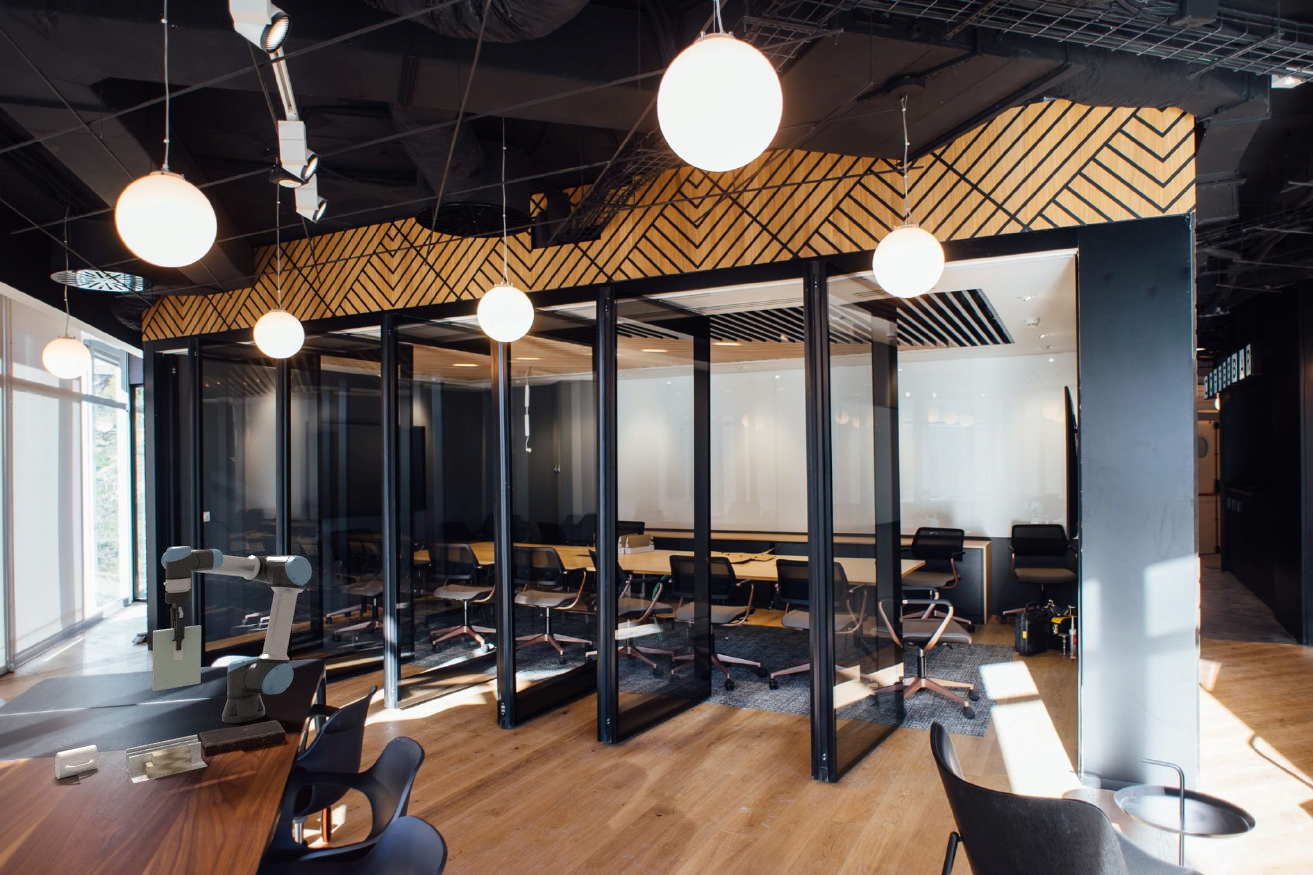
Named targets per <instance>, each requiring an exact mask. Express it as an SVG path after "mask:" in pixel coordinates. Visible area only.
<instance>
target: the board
mask: <svg viewBox="0 0 1313 875" xmlns="http://www.w3.org/2000/svg"><path fill="white" fill-rule="evenodd" d="M184 637H185V638H184V639H183V659H181V660H173V646H174V642H172V640H174V628H172V629H171V628H166V629H157V630H153V631H152V675H151V676H152V680H151V682H152V684H151V685H152V686H151V687H152V688H151V690H152V692H157V691H163V690H168V689H169V690H170V689H175V688H181V687H187V686H193V685H197V684H201V672H202V669H201V668H202V666H201V665H202V664H201V663H202V625H200V624H198V625H190V626H185V631H184Z"/></svg>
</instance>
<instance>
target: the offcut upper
mask: <svg viewBox="0 0 1313 875" xmlns="http://www.w3.org/2000/svg"><path fill="white" fill-rule="evenodd" d="M189 758H190V748H189V746H188V745H185V746H180V747H175V748H171V749H166V750H161V751H157V752H152V753H151V763H152V765H153V766H157V765H161V764H166V763H170V762H175V761H179V760H184V759H189Z"/></svg>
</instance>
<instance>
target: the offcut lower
mask: <svg viewBox="0 0 1313 875" xmlns="http://www.w3.org/2000/svg"><path fill="white" fill-rule="evenodd" d="M189 767H192V757H191V756H190V758H189V759H184V760H179V761H175V762H170V763H166V764H161V765H157V766H153V765H152V763H151V762H148V763H145V773H146V775H147V777H150V776H154V775H159V774H163V773H167V772H172V771H176V770H180V769H185V768H189Z"/></svg>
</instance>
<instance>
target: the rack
mask: <svg viewBox="0 0 1313 875" xmlns="http://www.w3.org/2000/svg"><path fill="white" fill-rule="evenodd" d="M185 745H188V746H189V748H190V756H191V757H192V767H189V768H185V769H180V770H176V771H172V772H167V773H163V774H159V775H154V776H150V777H147V775H146V773H145V763H148V762H151V753H152V752H157V751H161V750H166V749H171V748H175V747H180V746H185ZM206 767H208V765H207V763H206V762H205V761H204V760H203V759H202V742H201V741H199V739H198V734H194V735H188V736H183V737H178V738H173V739H168V740H164V741H159V742H155V743H150V744H144V745H140V746H135V747H130V748H126V749H125V769H126V771H127V773H128V775H129V777H130V779H131V781H132V783H133V784H137V783H142V782H145V781H149V780H154V779H157V778H162V777H166V776H172V775H176V774H179V773H180V774H181V773H185V772H188V771H192V770H197V769H201V768H206Z"/></svg>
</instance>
